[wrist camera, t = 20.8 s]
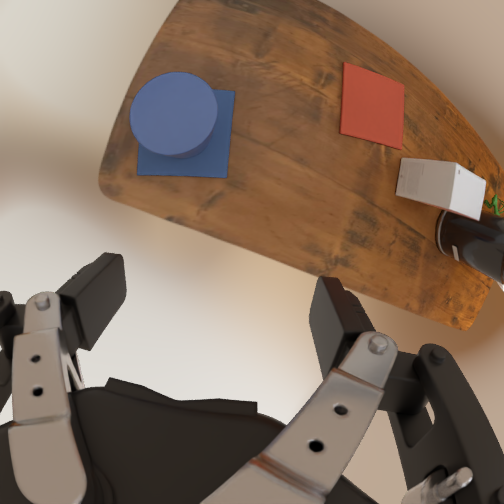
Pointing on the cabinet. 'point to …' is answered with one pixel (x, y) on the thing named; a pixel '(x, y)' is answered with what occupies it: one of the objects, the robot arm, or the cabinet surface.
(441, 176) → the small box
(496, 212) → the praying mantis
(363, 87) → the terracotta mat
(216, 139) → the blue mat
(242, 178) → the cabinet surface
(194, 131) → the blue can
